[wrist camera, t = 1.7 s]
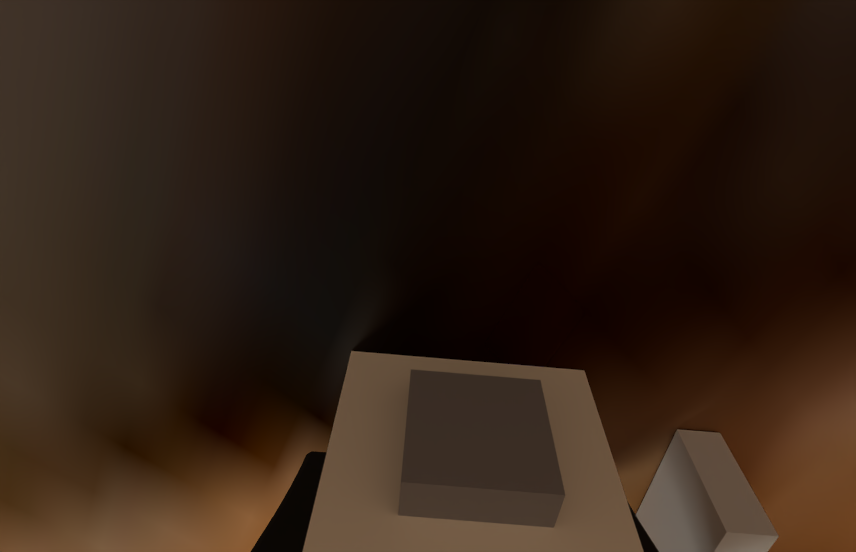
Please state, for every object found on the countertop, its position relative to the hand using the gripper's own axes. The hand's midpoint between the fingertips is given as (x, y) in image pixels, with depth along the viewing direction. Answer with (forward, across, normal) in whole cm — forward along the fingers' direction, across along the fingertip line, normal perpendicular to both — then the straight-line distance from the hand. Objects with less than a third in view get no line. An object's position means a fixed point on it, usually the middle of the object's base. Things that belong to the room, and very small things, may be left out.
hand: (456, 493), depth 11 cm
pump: (+1, 0, 0) cm, 1 cm away
